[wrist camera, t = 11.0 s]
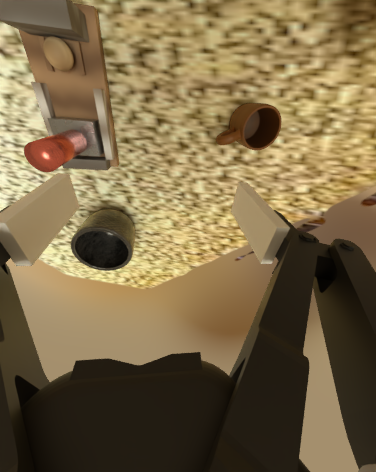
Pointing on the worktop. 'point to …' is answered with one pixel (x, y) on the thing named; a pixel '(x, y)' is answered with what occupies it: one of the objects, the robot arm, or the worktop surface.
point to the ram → (65, 143)
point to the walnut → (58, 53)
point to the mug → (252, 126)
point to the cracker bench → (75, 80)
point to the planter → (105, 240)
